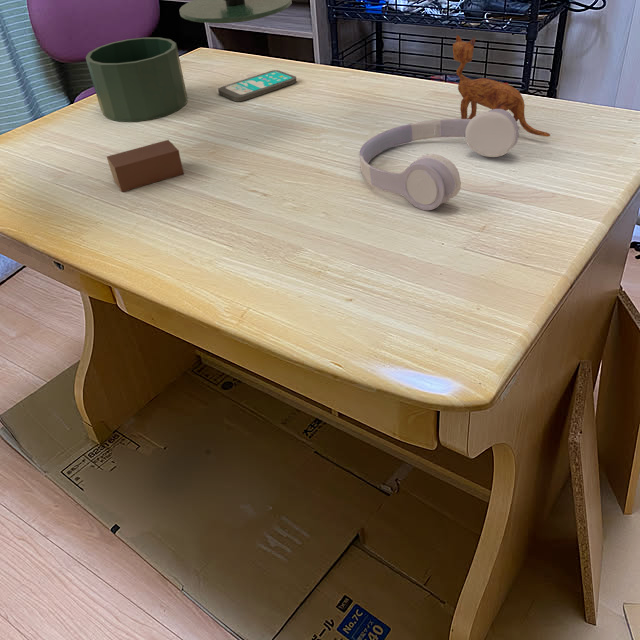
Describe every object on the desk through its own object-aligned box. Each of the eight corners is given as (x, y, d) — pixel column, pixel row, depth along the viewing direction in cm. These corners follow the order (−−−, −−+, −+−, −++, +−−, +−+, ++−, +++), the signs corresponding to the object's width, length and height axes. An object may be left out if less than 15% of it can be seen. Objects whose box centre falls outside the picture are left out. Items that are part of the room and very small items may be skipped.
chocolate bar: (122, 192, 95) (114, 167, 92) (113, 180, 98) (106, 156, 96) (184, 174, 98) (178, 150, 96) (173, 162, 102) (168, 139, 99)
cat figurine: (557, 135, 99) (573, 45, 90) (539, 151, 95) (554, 58, 87) (458, 114, 109) (464, 30, 100) (438, 127, 105) (442, 41, 96)
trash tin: (114, 129, 115) (98, 70, 108) (94, 103, 127) (77, 49, 120) (199, 107, 121) (187, 50, 114) (171, 85, 132) (160, 32, 126)
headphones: (524, 154, 94) (412, 135, 106) (527, 107, 90) (410, 93, 101) (448, 217, 82) (330, 189, 93) (447, 167, 77) (324, 143, 89)
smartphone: (214, 87, 125) (274, 68, 132) (215, 92, 126) (275, 73, 133) (238, 97, 120) (299, 76, 127) (238, 102, 121) (299, 81, 127)
